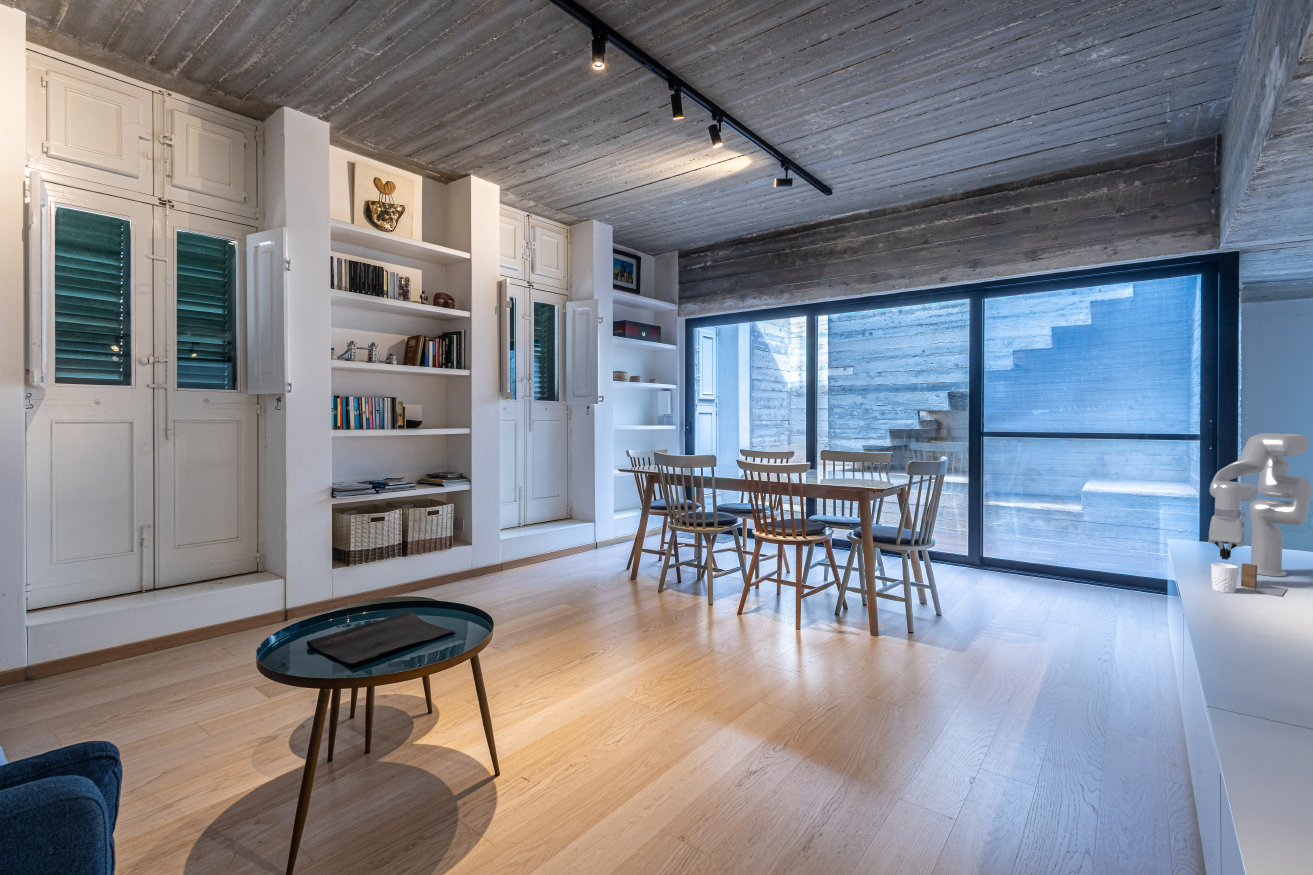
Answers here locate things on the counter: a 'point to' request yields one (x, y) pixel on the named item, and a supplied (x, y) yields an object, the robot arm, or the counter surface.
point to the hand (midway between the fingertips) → (1225, 558)
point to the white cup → (1224, 577)
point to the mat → (1270, 590)
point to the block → (1249, 576)
